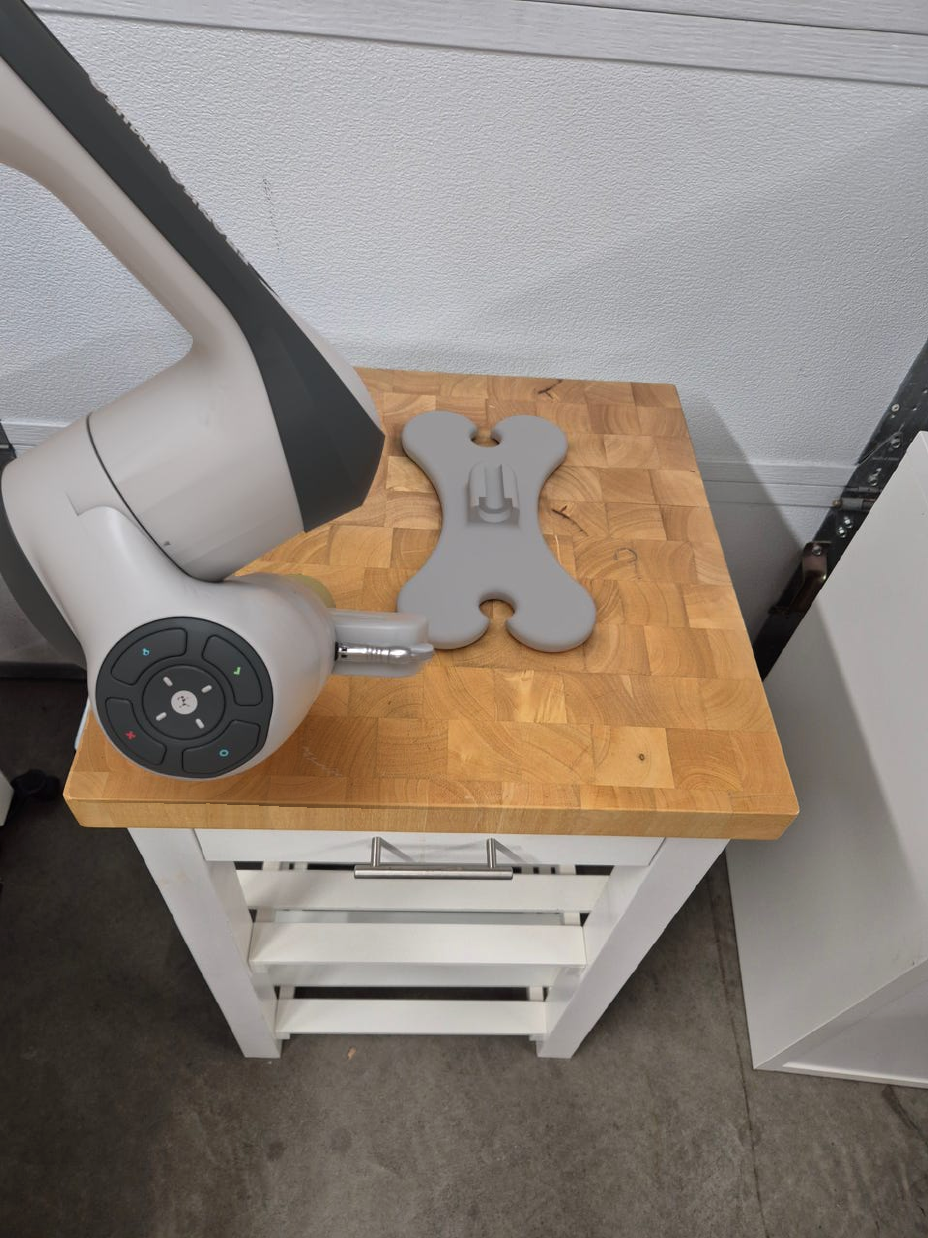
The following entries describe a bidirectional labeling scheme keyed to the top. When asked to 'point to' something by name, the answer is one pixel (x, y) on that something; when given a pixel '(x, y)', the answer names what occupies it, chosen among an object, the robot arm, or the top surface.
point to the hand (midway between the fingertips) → (295, 622)
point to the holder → (492, 535)
